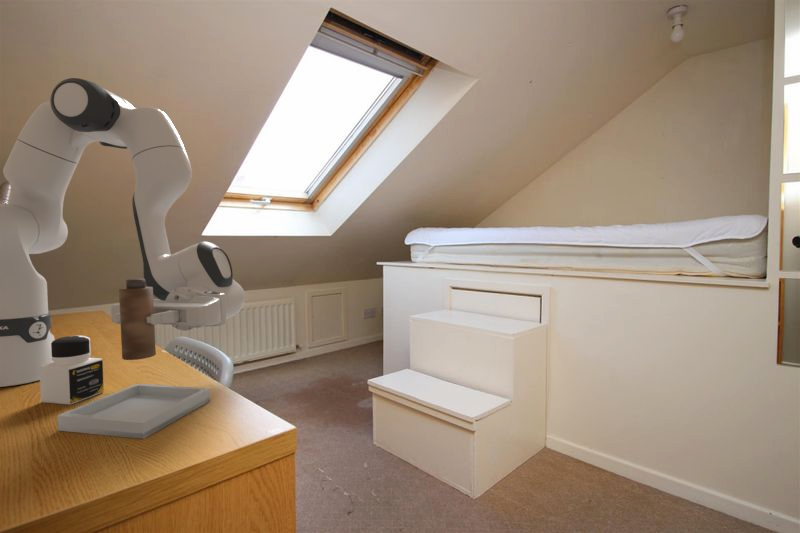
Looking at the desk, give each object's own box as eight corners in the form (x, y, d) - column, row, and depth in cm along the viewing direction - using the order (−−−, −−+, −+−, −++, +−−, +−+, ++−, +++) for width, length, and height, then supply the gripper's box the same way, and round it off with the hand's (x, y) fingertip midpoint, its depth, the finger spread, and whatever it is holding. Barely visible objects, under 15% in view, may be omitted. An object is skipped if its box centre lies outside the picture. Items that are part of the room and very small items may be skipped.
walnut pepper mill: (114, 359, 72) (111, 280, 71) (138, 352, 77) (134, 278, 76) (140, 360, 71) (136, 280, 70) (162, 352, 76) (159, 278, 75)
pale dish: (58, 430, 68) (57, 415, 68) (138, 395, 83) (137, 383, 83) (143, 438, 65) (142, 422, 64) (209, 401, 80) (209, 388, 80)
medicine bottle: (70, 405, 79) (68, 342, 78) (40, 402, 80) (37, 340, 79) (104, 392, 86) (102, 334, 85) (75, 390, 87) (73, 332, 86)
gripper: (144, 291, 88) (82, 300, 74) (232, 293, 84) (184, 302, 70) (145, 321, 88) (84, 335, 75) (233, 324, 84) (185, 339, 71)
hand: (133, 319), depth 72 cm, fingers closed on walnut pepper mill, 5 cm apart
